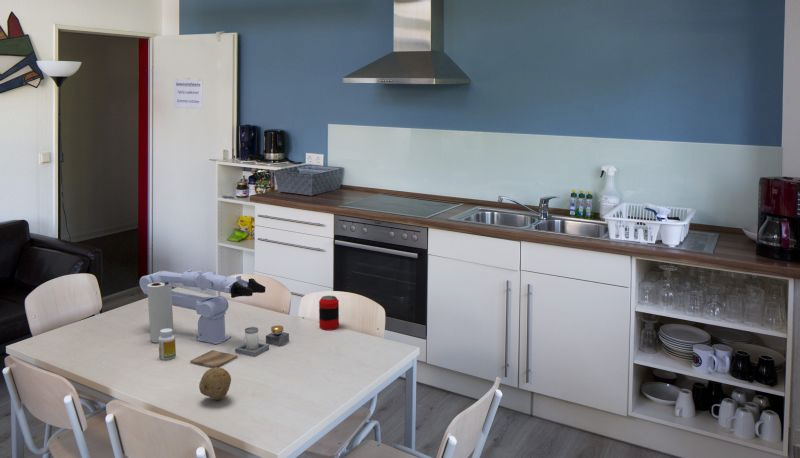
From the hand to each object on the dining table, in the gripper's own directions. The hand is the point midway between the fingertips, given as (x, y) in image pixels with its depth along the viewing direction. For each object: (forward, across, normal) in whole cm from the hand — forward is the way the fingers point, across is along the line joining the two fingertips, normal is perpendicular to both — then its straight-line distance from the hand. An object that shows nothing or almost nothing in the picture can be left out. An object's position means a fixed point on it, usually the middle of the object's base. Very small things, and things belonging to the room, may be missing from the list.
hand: (258, 291), depth 242 cm
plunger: (+3, +9, +17) cm, 20 cm away
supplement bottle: (-22, -18, +25) cm, 38 cm away
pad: (-6, -14, +23) cm, 28 cm away
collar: (0, -1, +21) cm, 21 cm away
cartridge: (0, -1, +21) cm, 21 cm away
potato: (+14, -38, +25) cm, 48 cm away
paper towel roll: (-36, -7, +24) cm, 44 cm away
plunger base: (+3, +10, +20) cm, 22 cm away
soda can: (+12, +32, +17) cm, 38 cm away
